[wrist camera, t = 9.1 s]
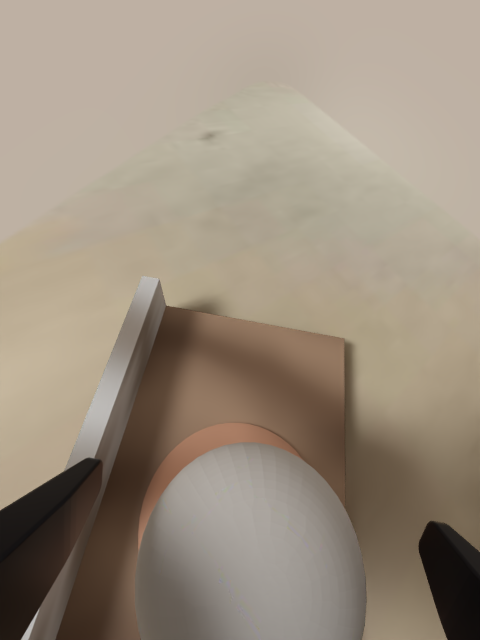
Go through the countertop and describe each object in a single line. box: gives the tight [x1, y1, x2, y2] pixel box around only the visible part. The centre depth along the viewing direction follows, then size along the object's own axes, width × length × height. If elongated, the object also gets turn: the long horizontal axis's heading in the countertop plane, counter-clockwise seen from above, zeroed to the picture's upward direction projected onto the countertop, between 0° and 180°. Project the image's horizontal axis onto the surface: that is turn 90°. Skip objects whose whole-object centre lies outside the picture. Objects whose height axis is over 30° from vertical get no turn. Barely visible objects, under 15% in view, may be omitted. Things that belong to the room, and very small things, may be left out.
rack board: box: [21, 276, 345, 640], centre depth 14 cm, size 22×13×4 cm, turn 171°
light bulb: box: [135, 442, 366, 640], centre depth 10 cm, size 6×6×10 cm
